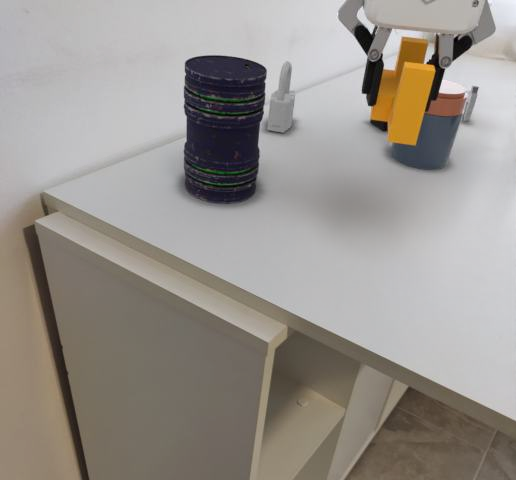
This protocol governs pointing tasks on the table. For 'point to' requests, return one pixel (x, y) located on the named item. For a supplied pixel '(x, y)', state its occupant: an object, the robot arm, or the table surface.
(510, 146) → the table surface
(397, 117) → the orange stepped block
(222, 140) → the storage jar
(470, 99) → the caliper
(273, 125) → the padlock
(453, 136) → the lidded canister
